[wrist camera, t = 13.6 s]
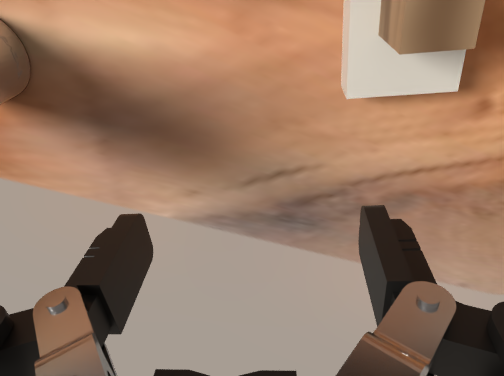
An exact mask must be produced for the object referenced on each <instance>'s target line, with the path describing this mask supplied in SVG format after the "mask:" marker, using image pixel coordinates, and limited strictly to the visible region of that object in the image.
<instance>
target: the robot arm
mask: <svg viewBox="0 0 504 376" xmlns="http://www.w3.org/2000/svg"><path fill="white" fill-rule="evenodd" d="M29 79H30V62H29V59H28V56H27V52H26V50H25V48H24V46H23V44H22V43H21V41H20V40H19V38H18V37H17V36H16V34H15V33H14V32H13V31H12V30H11V29H10V28H9V27H8V26H7V25H6V24H5V23H3V22H2V21H1V20H0V104H2V103H4V102H6V101H7V100H9V99H11V98H13V97H15V96H16V95H18V94H19V93H21V92H22V91H23V90H24V89H25V88H26V86H27V84H28V81H29ZM89 248H90V249H88V251H87V252H86V254H85V255H84V258H82V260H81V261H80V263H79V264H78V266H77V268H76V269H75V271H74V272H73V274H72V275H71V277H70V278H69V280H68V282H67V283H66V285H65V286H64V287H61V288H58V289H55V290H53V291H51V292H49V293H47V294H46V295H44V296H43V297H42V298H41V299H40V300H39V301H38V302H37V303H36V305H35V307H34V308H32V309H29V310H25V311H21V312H18V313H14V314H10V315H9V314H8V313H7V311H6V310H5V309H4V307H2V306H0V376H117V374H116V371H115V368H114V365H113V363H112V360H111V358H110V355H109V352H108V349H107V346H106V344H105V340H106V338H107V336H108V334H121V333H122V331H123V329H124V326H125V324H126V321H127V319H128V317H129V314H130V312H131V309H132V307H133V305H134V302H135V300H136V298H137V295H138V293H139V290H140V288H141V286H142V283H143V281H144V278H145V276H146V274H147V271H148V269H149V267H150V264H151V262H152V258H153V245H152V242H151V238H150V235H149V232H148V229H147V226H146V223H145V219H144V217H143V215H142V214H121V215H120V216H119V217H118V218H117V220H116V221H115V223H114V225H113V226H112V228H107V229H105V230H104V231H103V232H102V233H101V234H99V235H98V236H97V237H96V238H95V240H94V242H93V243H92V244H91V246H90V247H89ZM359 254H360V259H361V263H362V266H363V271H364V275H365V279H366V283H367V286H368V290H369V294H370V299H371V303H372V306H373V311H374V315H375V319H376V322H377V329H376V330H375V331H374V332H373V333H371V332H367V333H366V334H365V335H364V336H363V337H362V338H361V340H360V341H359V343H358V344H357V346H356V347H355V348H354V350H353V351H352V353H351V354H350V356H349V357H348V359H347V360H346V362H345V363H344V364H343V366H342V367H341V369H340V370H339V372H338V373H337V375H336V376H436V375H437V376H504V302H501V303H498V304H497V305H495V306H494V307H493V309H492V311H489V310H484V309H480V308H476V307H472V306H468V305H464V304H462V303H459V302H457V301H455V300H454V298H453V296H452V295H451V294H450V293H449V292H448V291H447V290H446V289H444V288H443V287H441V286H439V285H437V283H436V281H435V279H434V277H433V274H432V272H431V270H430V268H429V266H428V263H427V261H426V259H425V257H424V255H423V253H422V251H421V248H420V246H419V244H418V242H417V241H416V237H415V235H414V233H413V231H412V229H411V228H410V227H409V226H408V225H407V224H406V223H405V222H404V221H402V220H401V219H390V218H389V215H388V213H387V210H386V208H385V206H384V205H375V206H362V207H361V215H360V228H359ZM154 376H209V375H206V374H202V373H199V372H195V371H192V370H165V369H164V370H163V369H162V370H161V369H156V370H155V373H154ZM240 376H297V375H296V371H257V372H252V373H248V374H244V375H240Z"/></svg>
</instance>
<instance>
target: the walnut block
mask: <svg viewBox="0 0 504 376" xmlns="http://www.w3.org/2000/svg"><path fill="white" fill-rule="evenodd" d="M484 4H485V0H381V9H380V21H379V33H378V35H379V36H380V37H381V38H382V39H383V40H384V41H385V42H386V43H387V44H389V45H390V46H391V47H392V48H393V49H394V50H395V51H396V52H397V53H398V54H400V55H401V54H414V53H427V52H439V51H452V50H465V49H475V46H476V41H477V37H478V32H479V27H480V23H481V18H482V13H483V9H484Z"/></svg>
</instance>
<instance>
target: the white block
mask: <svg viewBox="0 0 504 376" xmlns="http://www.w3.org/2000/svg"><path fill="white" fill-rule="evenodd" d="M380 9H381V0H344V8H343V39H342V71H341V87H342V89H343V92H344V94H345V97H346V99H353V98H368V97H382V96H397V95H412V94H426V93H441V92H456V91H458V88H459V83H460V78H461V73H462V68H463V63H464V58H465V53H466V49H465V50H452V51H439V52H427V53H414V54H401V55H400V54H398V53H397V52H396V51H395V50H394V49H393V48H392V47H391V46H390V45H389V44H387V43H386V42H385V41H384V40H383V39H382V38H381V37H380V36H379V35H378V33H379V21H380Z"/></svg>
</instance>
